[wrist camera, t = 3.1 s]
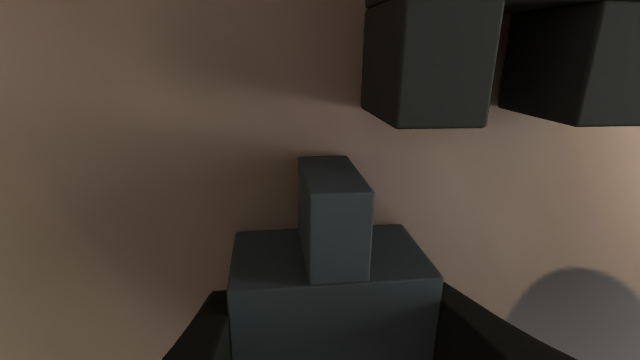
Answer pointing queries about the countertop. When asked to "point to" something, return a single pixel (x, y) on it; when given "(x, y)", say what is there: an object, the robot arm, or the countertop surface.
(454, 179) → the countertop surface
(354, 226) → the grey t-shaped block
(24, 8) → the countertop surface
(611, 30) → the black notched block
